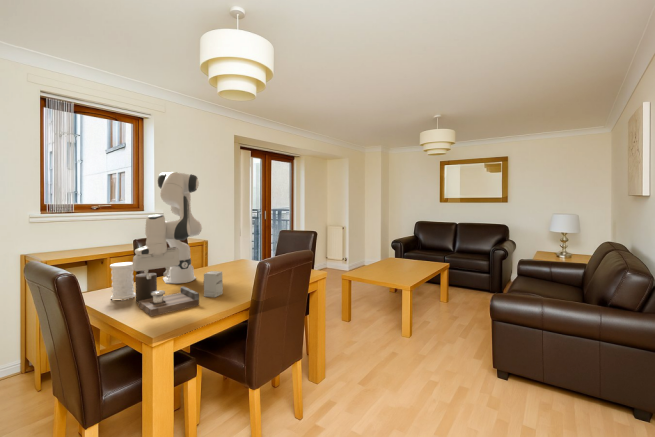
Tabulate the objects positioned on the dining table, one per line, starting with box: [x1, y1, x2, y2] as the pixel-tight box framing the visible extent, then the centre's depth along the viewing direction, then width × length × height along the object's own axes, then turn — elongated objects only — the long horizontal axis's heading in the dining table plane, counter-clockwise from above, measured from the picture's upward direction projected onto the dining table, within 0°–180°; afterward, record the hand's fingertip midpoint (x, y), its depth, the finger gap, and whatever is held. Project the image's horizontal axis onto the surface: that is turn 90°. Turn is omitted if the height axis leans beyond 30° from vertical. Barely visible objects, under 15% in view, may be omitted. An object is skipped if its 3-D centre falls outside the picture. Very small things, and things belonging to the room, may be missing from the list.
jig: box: [138, 286, 200, 317], centre depth 163 cm, size 18×22×6 cm
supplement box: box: [203, 270, 224, 298], centre depth 182 cm, size 7×7×13 cm
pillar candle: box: [134, 272, 158, 304], centre depth 172 cm, size 10×10×15 cm
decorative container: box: [109, 261, 136, 300], centre depth 177 cm, size 12×12×18 cm
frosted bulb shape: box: [151, 289, 166, 305], centre depth 160 cm, size 6×6×8 cm
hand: (157, 277), depth 159 cm, fingers open, 6 cm apart
